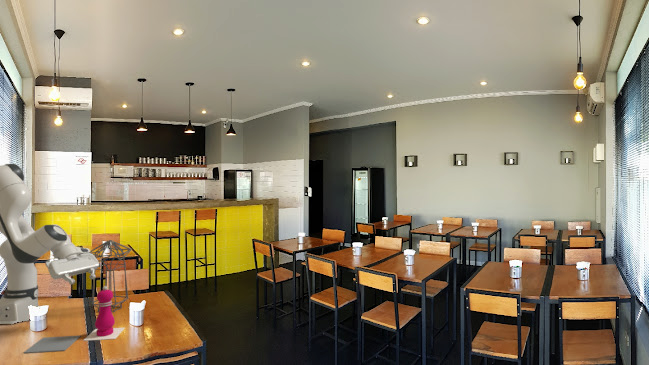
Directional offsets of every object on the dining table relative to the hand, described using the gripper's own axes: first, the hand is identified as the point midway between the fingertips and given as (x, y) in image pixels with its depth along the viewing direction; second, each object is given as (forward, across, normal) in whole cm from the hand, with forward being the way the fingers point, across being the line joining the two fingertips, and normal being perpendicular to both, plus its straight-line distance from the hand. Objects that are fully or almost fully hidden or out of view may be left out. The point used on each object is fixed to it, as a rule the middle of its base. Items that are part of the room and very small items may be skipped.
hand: (83, 280), depth 170 cm
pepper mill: (+24, 0, +6) cm, 25 cm away
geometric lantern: (+7, +23, +24) cm, 34 cm away
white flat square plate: (+24, 0, +6) cm, 25 cm away
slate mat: (+17, -15, +13) cm, 26 cm away
